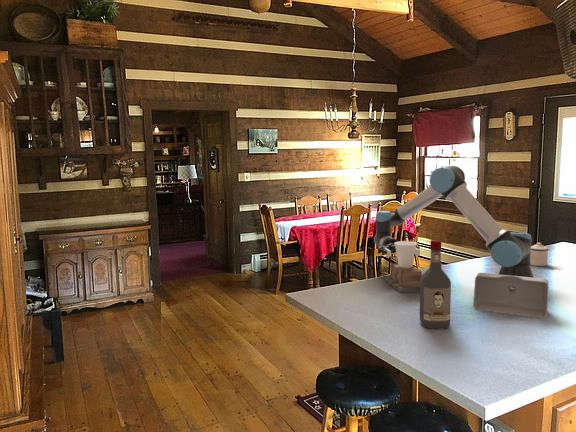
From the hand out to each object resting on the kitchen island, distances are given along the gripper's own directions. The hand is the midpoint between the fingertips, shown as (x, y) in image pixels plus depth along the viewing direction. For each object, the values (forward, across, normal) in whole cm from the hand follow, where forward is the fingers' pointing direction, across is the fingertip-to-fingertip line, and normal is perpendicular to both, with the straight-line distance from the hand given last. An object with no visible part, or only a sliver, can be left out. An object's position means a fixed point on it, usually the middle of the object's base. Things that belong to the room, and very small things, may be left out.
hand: (404, 253), depth 212 cm
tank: (+36, -29, -16) cm, 49 cm away
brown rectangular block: (0, 0, -15) cm, 15 cm away
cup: (0, 0, -6) cm, 7 cm away
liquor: (+49, +7, -16) cm, 52 cm away
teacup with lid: (-28, -82, -16) cm, 88 cm away
